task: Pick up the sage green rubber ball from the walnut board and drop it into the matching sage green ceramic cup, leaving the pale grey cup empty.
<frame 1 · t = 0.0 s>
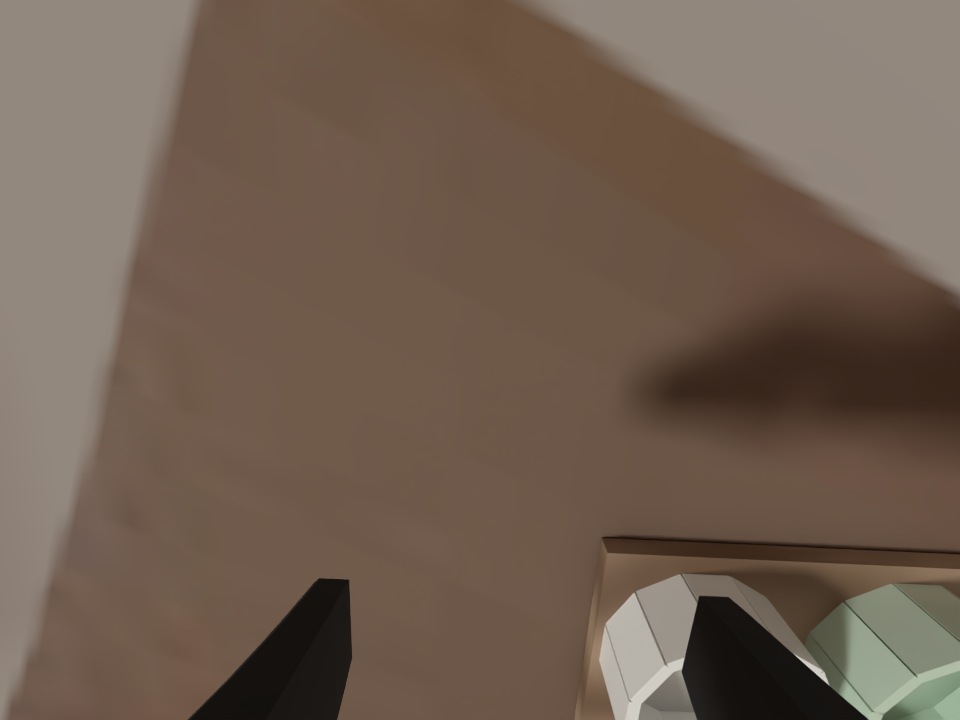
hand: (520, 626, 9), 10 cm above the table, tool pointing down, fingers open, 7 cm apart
board: (766, 693, 23), on the table
cup green: (888, 655, 21), resting on board
cup grey: (688, 646, 21), resting on board
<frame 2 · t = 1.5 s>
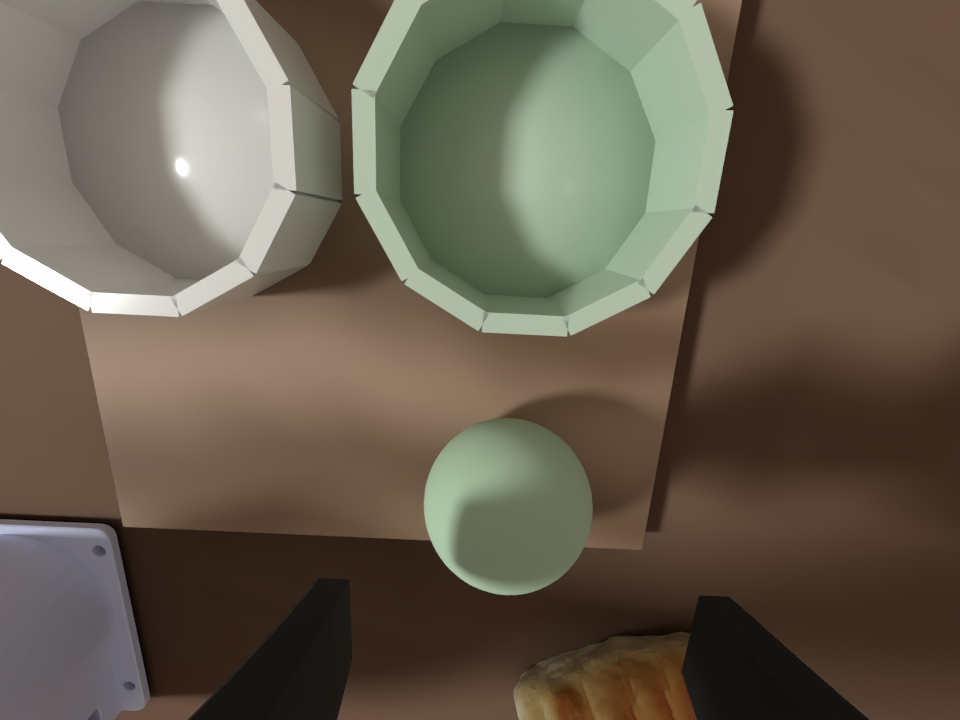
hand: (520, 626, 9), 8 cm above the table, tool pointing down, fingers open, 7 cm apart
board: (388, 295, 15), on the table
pastry: (607, 676, 21), on the table
ball: (503, 460, 16), point 1 cm above the table, touching board
cup green: (524, 172, 13), resting on board
cup grey: (201, 155, 13), resting on board
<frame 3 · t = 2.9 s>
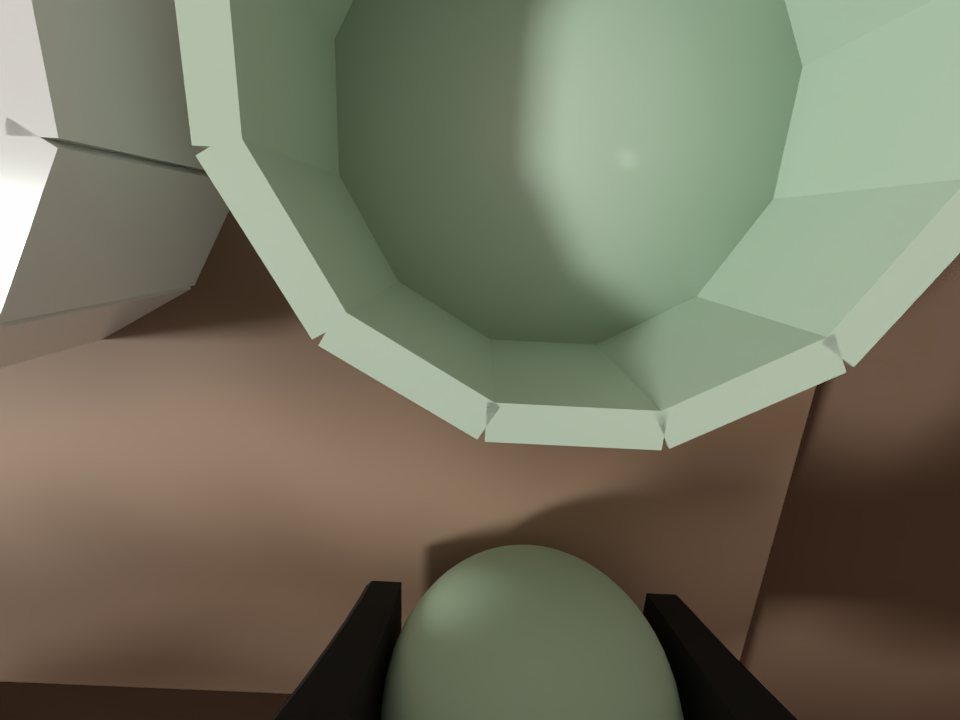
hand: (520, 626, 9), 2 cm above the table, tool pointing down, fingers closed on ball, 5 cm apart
board: (334, 334, 10), on the table
ball: (517, 588, 10), point 1 cm above the table, touching board, gripper
cup green: (559, 128, 7), resting on board
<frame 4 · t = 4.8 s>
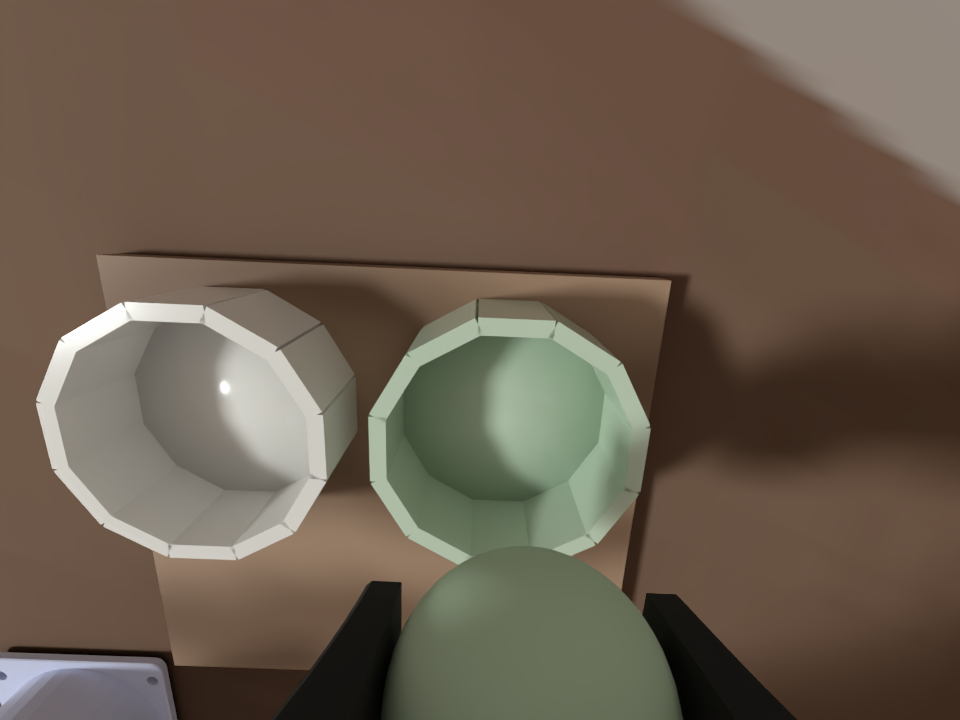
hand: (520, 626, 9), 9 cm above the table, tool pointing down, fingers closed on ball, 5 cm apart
board: (393, 485, 19), on the table
ball: (517, 590, 10), point 8 cm above the table, touching gripper
cup green: (502, 409, 17), resting on board
cup grey: (245, 399, 16), resting on board
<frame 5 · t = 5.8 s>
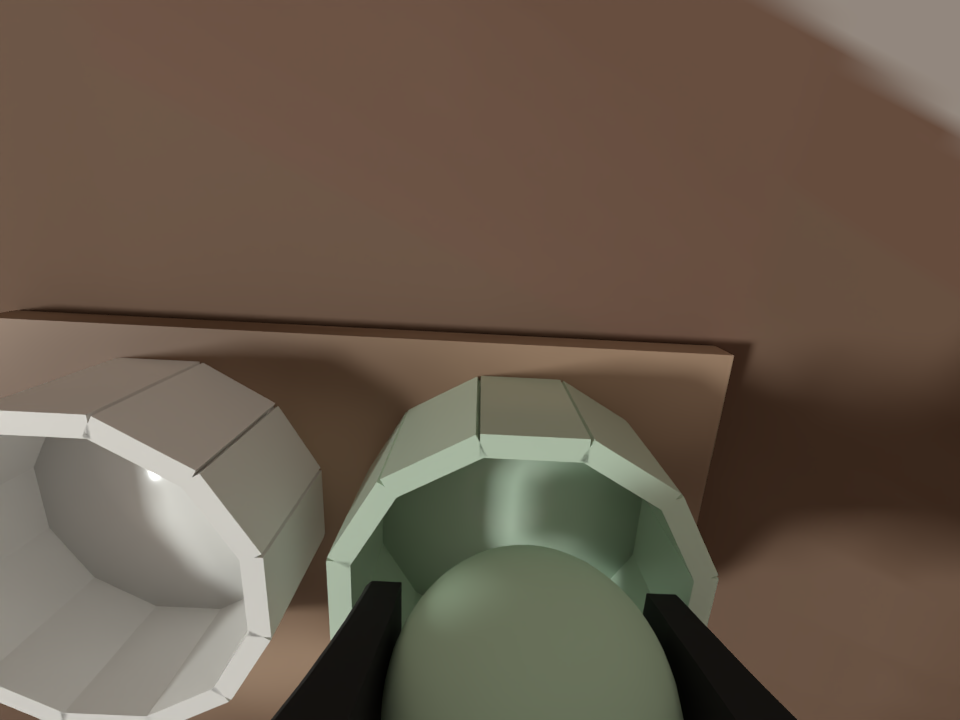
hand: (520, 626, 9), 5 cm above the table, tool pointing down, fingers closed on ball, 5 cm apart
board: (373, 590, 15), on the table
ball: (517, 589, 10), point 4 cm above the table, touching gripper
cup green: (509, 511, 13), resting on board
cup grey: (180, 495, 13), resting on board
when the fingers open (5 cm above the table, at t = 6.6 s): ball drops 3 cm, resting on cup green.
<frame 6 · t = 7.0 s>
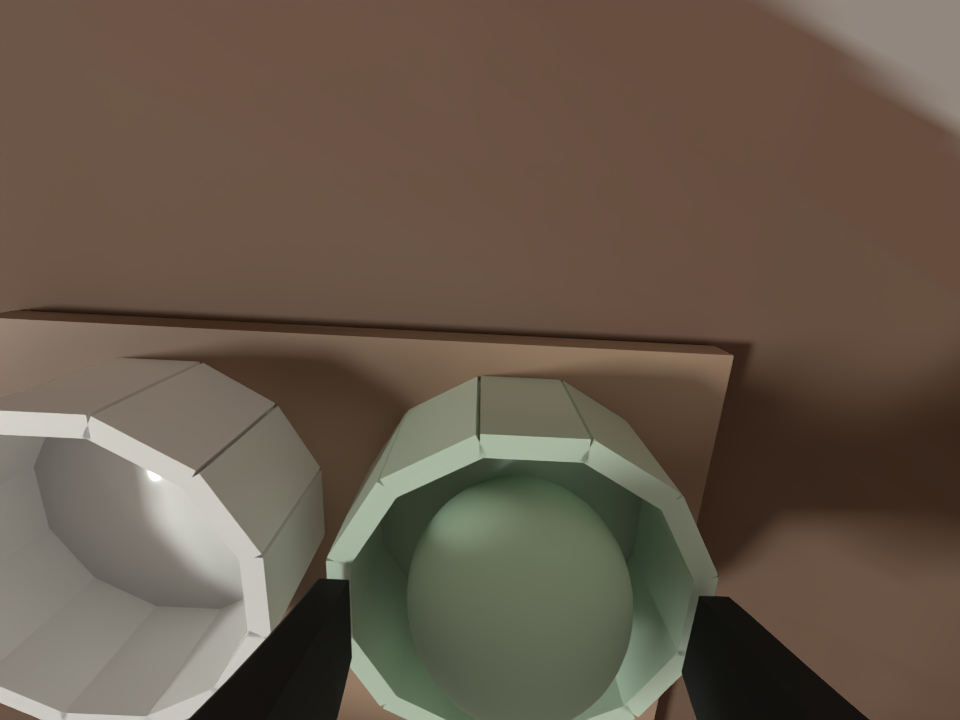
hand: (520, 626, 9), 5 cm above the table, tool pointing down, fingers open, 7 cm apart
board: (373, 590, 15), on the table
ball: (510, 520, 13), point 1 cm above the table, touching cup green
cup green: (509, 511, 13), resting on board
cup grey: (180, 496, 13), resting on board
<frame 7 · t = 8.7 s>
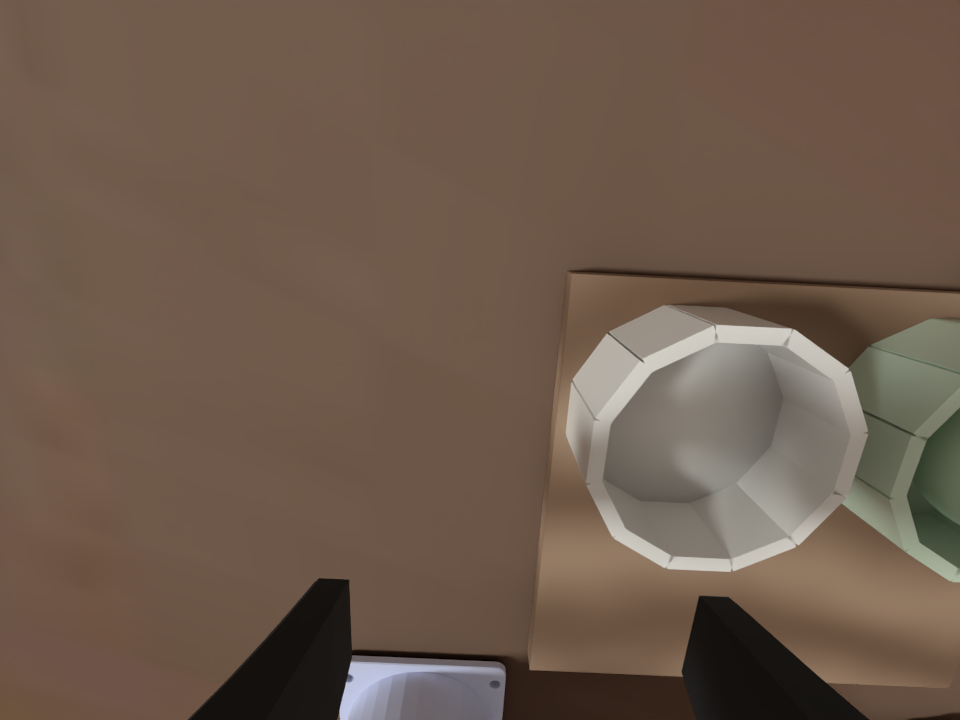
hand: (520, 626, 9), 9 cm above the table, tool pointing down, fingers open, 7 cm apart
board: (772, 496, 19), on the table
ball: (934, 430, 17), point 1 cm above the table, touching cup green
cup green: (923, 425, 17), resting on board
cup grey: (676, 413, 17), resting on board
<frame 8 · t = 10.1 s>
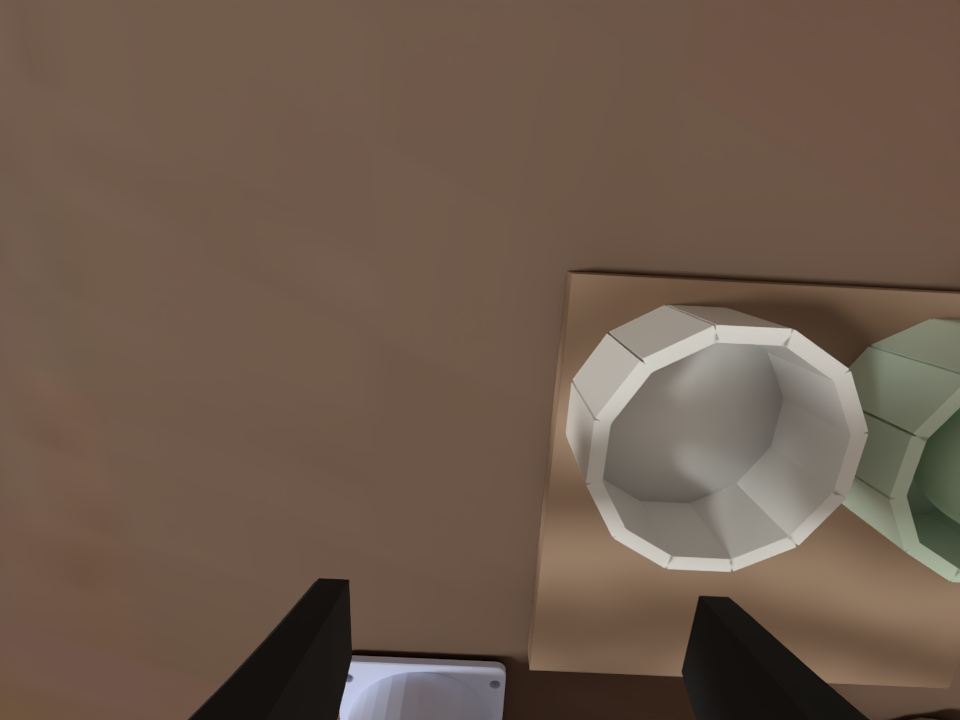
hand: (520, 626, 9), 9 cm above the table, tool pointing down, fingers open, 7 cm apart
board: (772, 496, 19), on the table
ball: (934, 430, 17), point 1 cm above the table, touching cup green
cup green: (923, 425, 17), resting on board
cup grey: (676, 413, 17), resting on board
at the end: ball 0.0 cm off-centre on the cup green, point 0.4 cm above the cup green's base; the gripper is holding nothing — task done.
